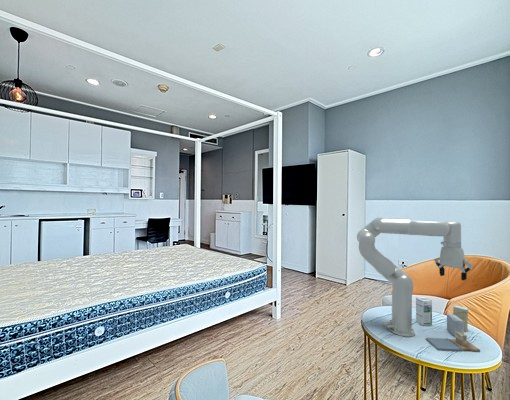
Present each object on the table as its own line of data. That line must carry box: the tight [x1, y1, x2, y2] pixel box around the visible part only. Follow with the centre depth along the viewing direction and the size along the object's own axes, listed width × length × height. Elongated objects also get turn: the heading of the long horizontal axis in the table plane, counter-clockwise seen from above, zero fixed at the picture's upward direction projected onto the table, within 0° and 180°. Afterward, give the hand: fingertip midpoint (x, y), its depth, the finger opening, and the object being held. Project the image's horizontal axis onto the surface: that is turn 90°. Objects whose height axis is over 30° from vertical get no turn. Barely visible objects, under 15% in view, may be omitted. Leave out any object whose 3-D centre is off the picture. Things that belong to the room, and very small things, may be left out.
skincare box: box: [452, 304, 469, 333], centre depth 146 cm, size 6×4×12 cm
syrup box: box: [415, 296, 433, 327], centre depth 152 cm, size 6×6×14 cm
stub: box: [448, 332, 481, 352], centre depth 127 cm, size 8×9×6 cm
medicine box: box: [446, 314, 465, 338], centre depth 140 cm, size 8×4×9 cm, turn 168°
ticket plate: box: [425, 337, 463, 353], centre depth 128 cm, size 11×10×1 cm
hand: (452, 277), depth 137 cm, fingers open, 9 cm apart
